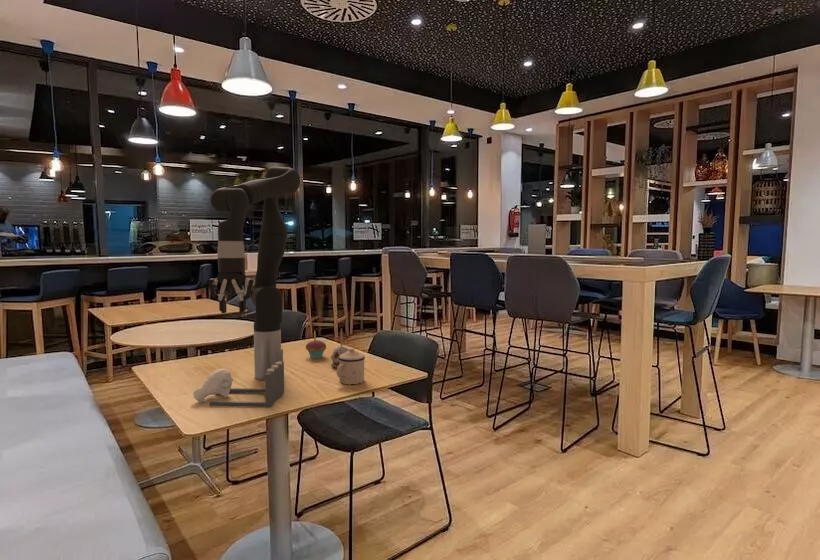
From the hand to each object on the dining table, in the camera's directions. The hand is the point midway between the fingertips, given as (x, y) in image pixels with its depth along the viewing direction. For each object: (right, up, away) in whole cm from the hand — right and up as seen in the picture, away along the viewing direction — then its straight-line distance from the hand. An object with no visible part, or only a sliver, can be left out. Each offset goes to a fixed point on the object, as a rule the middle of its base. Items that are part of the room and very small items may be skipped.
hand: (232, 312), depth 139 cm
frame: (+3, -27, +4) cm, 28 cm away
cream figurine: (-8, -27, +5) cm, 29 cm away
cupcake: (+14, -23, +55) cm, 61 cm away
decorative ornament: (+27, -24, +42) cm, 55 cm away
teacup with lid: (+32, -26, +22) cm, 47 cm away
